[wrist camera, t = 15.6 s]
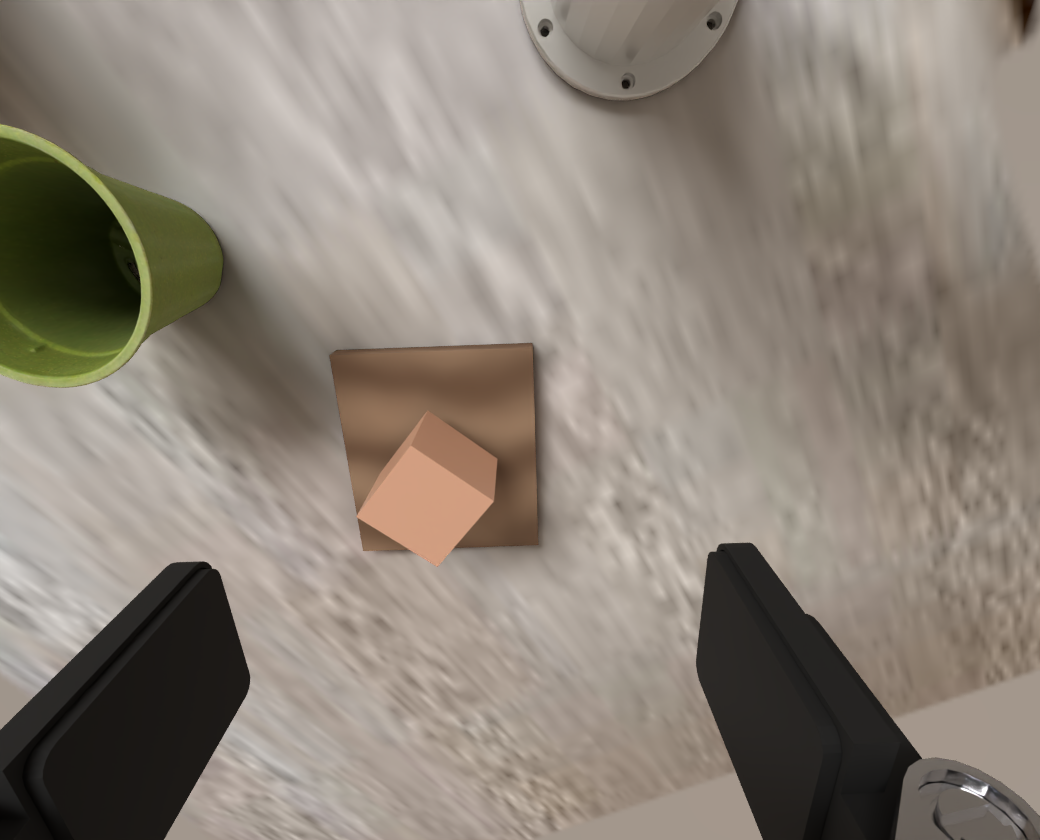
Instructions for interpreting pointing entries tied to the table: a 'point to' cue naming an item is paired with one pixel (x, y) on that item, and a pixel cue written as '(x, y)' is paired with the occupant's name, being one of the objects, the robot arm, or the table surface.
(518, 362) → the post board
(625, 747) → the table surface
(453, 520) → the salmon orange cube
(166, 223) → the plant pot
